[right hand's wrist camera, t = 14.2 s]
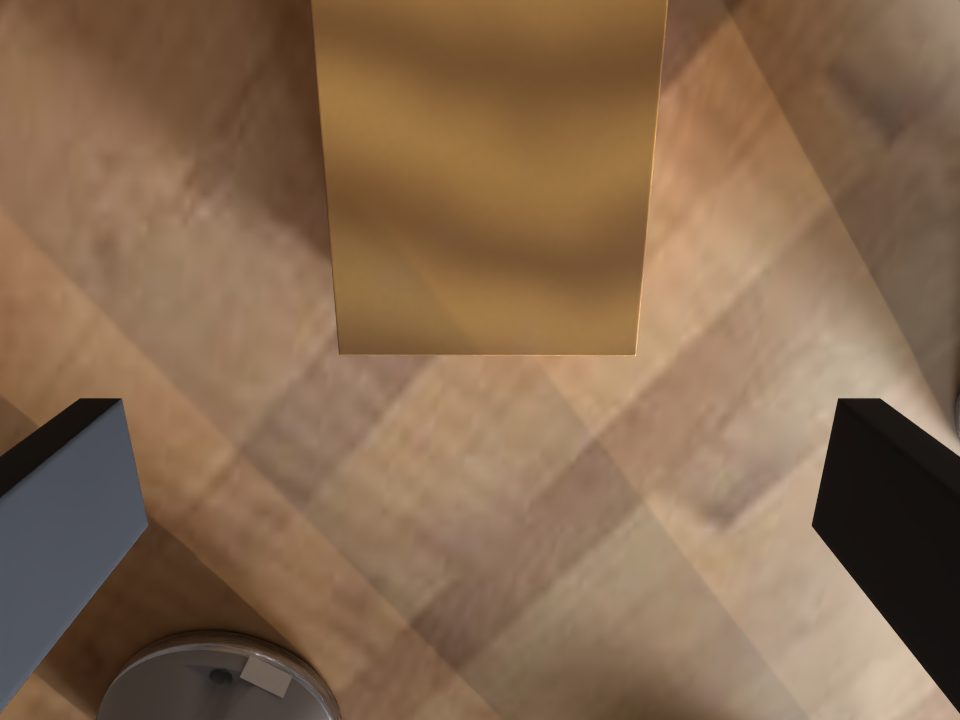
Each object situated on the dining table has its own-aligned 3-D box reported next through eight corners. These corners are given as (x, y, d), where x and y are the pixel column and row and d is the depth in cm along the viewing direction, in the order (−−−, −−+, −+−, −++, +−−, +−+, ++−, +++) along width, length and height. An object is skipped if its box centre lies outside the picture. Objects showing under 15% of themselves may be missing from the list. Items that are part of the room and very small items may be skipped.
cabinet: (342, -235, 26) (277, -385, 18) (636, -236, 26) (704, -388, 18) (373, 295, 34) (338, 356, 26) (600, 295, 34) (636, 356, 26)
